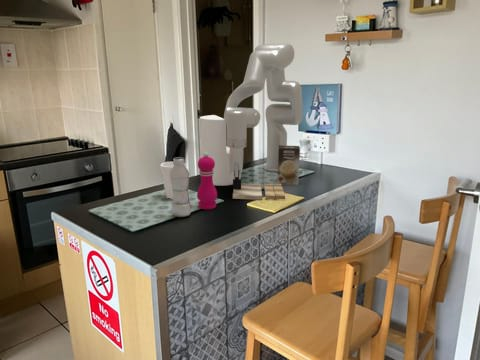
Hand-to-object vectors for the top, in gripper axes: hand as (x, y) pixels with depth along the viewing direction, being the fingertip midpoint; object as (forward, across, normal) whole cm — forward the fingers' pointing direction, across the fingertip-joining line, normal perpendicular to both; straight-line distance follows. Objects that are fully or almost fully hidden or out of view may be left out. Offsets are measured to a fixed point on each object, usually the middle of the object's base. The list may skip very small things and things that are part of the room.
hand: (237, 188), depth 158 cm
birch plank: (+2, 0, +4) cm, 4 cm away
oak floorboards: (+2, 0, +15) cm, 15 cm away
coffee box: (+2, -15, +22) cm, 27 cm away
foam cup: (+3, +3, -24) cm, 25 cm away
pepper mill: (+3, +15, -10) cm, 18 cm away
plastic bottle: (+3, +24, -18) cm, 30 cm away
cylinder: (+2, -20, -7) cm, 22 cm away
